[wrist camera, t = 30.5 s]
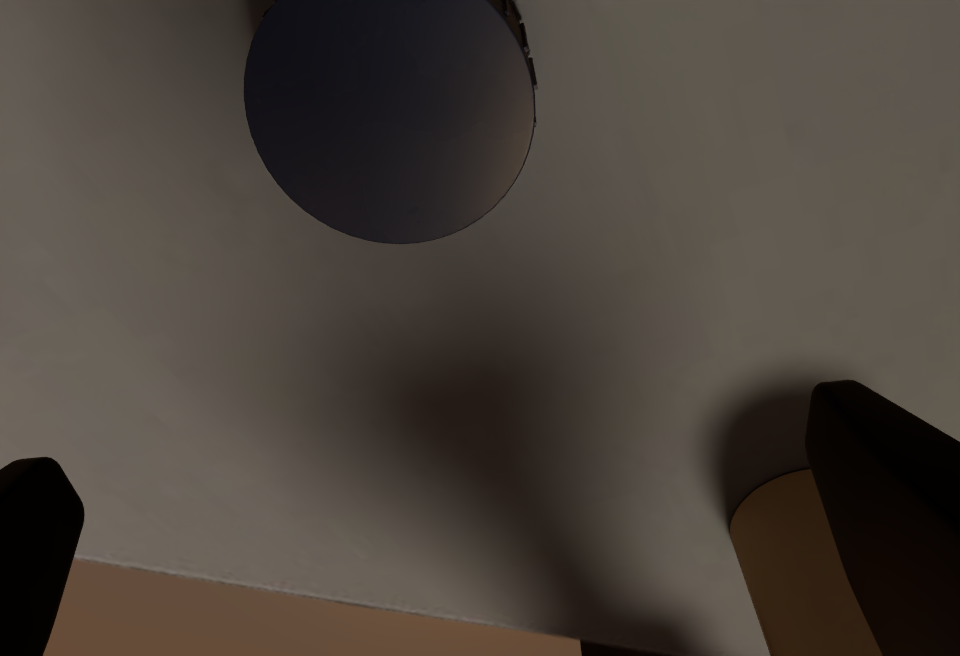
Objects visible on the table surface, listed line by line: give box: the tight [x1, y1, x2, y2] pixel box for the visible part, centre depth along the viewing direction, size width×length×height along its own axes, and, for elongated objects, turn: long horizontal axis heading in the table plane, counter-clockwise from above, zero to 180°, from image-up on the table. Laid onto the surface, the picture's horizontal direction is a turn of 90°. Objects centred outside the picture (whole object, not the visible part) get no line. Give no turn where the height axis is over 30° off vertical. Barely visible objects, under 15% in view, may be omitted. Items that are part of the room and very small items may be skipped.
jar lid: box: [244, 0, 538, 244], centre depth 16 cm, size 6×6×3 cm
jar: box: [730, 469, 883, 656], centre depth 22 cm, size 5×5×10 cm
